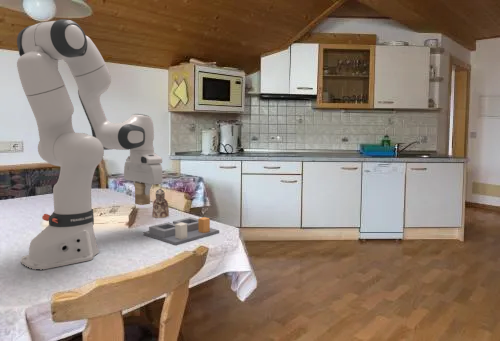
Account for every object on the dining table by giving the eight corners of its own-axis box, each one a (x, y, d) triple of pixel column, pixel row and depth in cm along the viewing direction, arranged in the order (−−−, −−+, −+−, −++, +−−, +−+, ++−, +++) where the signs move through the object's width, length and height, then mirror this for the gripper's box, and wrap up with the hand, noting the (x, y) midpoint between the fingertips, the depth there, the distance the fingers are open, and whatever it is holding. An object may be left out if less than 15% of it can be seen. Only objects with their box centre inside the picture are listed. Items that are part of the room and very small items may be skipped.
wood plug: (141, 205, 159) (140, 184, 159) (135, 203, 162) (134, 183, 161) (150, 203, 162) (149, 183, 162) (143, 202, 165) (143, 182, 164)
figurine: (151, 218, 184) (150, 190, 183) (154, 214, 191) (153, 188, 190) (167, 217, 185) (166, 190, 183) (169, 214, 192) (169, 187, 190)
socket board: (175, 245, 146) (175, 228, 145) (143, 234, 159) (142, 219, 158) (219, 232, 162) (219, 217, 161) (186, 224, 174) (186, 209, 173)
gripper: (119, 156, 165) (120, 191, 166) (150, 159, 151) (151, 198, 153) (133, 155, 169) (134, 189, 171) (165, 158, 156) (165, 196, 158)
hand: (142, 193), depth 162 cm, fingers closed on wood plug, 4 cm apart
